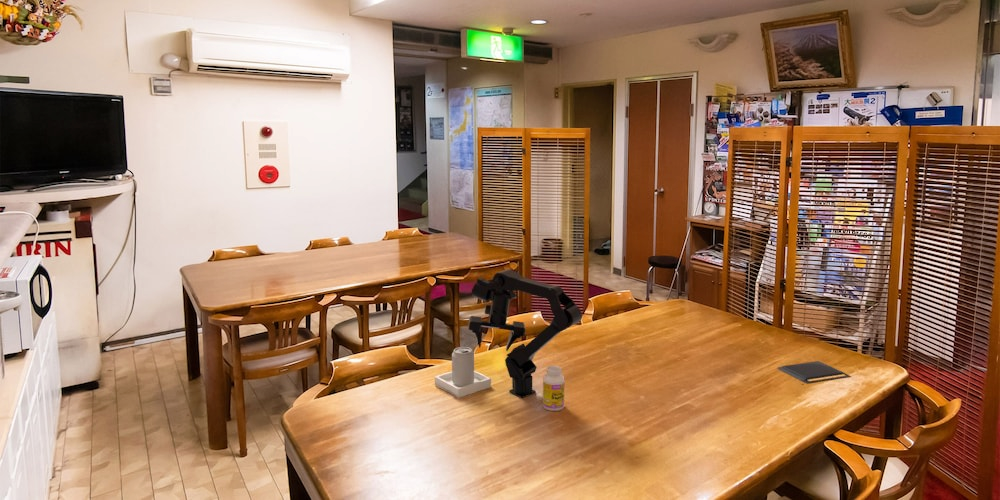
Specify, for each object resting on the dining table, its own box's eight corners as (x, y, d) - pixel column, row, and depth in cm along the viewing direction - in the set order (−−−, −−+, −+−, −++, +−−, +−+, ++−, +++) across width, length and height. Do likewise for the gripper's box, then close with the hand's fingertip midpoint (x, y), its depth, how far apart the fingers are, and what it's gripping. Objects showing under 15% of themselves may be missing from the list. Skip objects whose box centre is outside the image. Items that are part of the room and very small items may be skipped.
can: (464, 389, 203) (463, 355, 201) (447, 383, 208) (447, 350, 206) (478, 382, 209) (478, 348, 207) (462, 376, 214) (461, 344, 211)
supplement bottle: (550, 413, 188) (550, 374, 186) (538, 405, 194) (539, 366, 192) (568, 409, 191) (569, 370, 189) (556, 400, 197) (557, 362, 195)
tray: (490, 386, 208) (490, 378, 207) (458, 397, 199) (458, 389, 199) (466, 374, 218) (466, 366, 218) (434, 384, 210) (434, 376, 209)
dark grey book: (820, 358, 229) (853, 374, 215) (820, 363, 230) (853, 379, 215) (775, 364, 224) (805, 380, 210) (774, 369, 224) (805, 385, 210)
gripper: (526, 300, 211) (518, 341, 216) (472, 293, 210) (466, 334, 215) (528, 313, 201) (521, 356, 206) (471, 306, 199) (465, 349, 204)
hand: (493, 348), depth 208 cm, fingers open, 9 cm apart
